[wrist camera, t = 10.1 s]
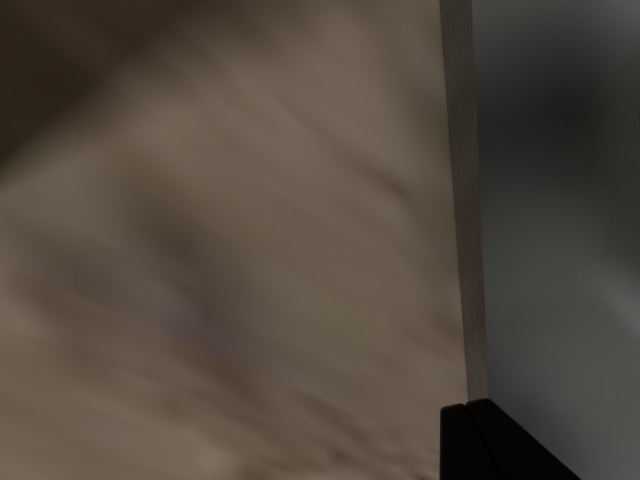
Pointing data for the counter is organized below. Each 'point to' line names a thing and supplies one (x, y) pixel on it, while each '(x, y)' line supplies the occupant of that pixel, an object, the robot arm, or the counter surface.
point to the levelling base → (550, 218)
